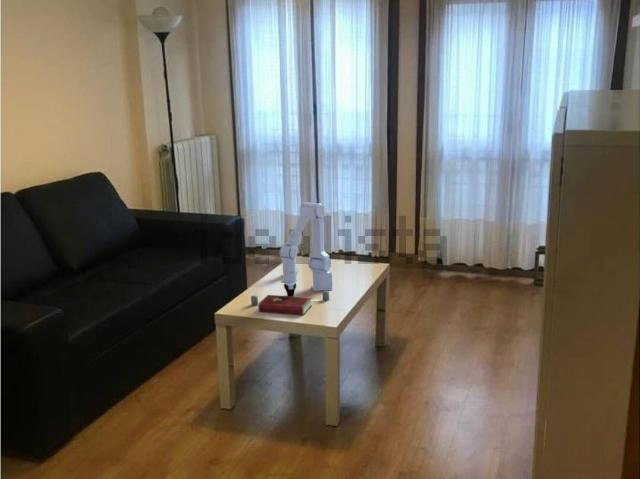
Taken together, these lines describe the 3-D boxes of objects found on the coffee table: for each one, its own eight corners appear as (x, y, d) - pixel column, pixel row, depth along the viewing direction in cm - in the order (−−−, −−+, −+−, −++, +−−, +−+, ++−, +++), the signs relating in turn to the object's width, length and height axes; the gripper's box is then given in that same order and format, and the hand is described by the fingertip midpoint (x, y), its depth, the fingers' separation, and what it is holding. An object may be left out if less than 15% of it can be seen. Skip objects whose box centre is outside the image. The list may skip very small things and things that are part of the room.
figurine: (301, 273, 346) (299, 246, 342) (297, 279, 337) (295, 250, 333) (287, 273, 347) (286, 245, 343) (283, 278, 338) (282, 250, 334)
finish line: (328, 298, 306) (328, 290, 305) (329, 300, 303) (329, 292, 302) (251, 303, 302) (250, 295, 301) (251, 306, 299) (251, 297, 298)
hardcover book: (303, 315, 286) (303, 306, 284) (258, 311, 292) (258, 303, 291) (311, 306, 297) (311, 297, 296) (268, 302, 303) (268, 294, 302)
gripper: (279, 267, 304) (280, 294, 307) (281, 276, 290) (282, 305, 293) (294, 266, 305) (295, 293, 308) (297, 275, 291) (298, 304, 294)
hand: (290, 299), depth 301 cm, fingers closed
